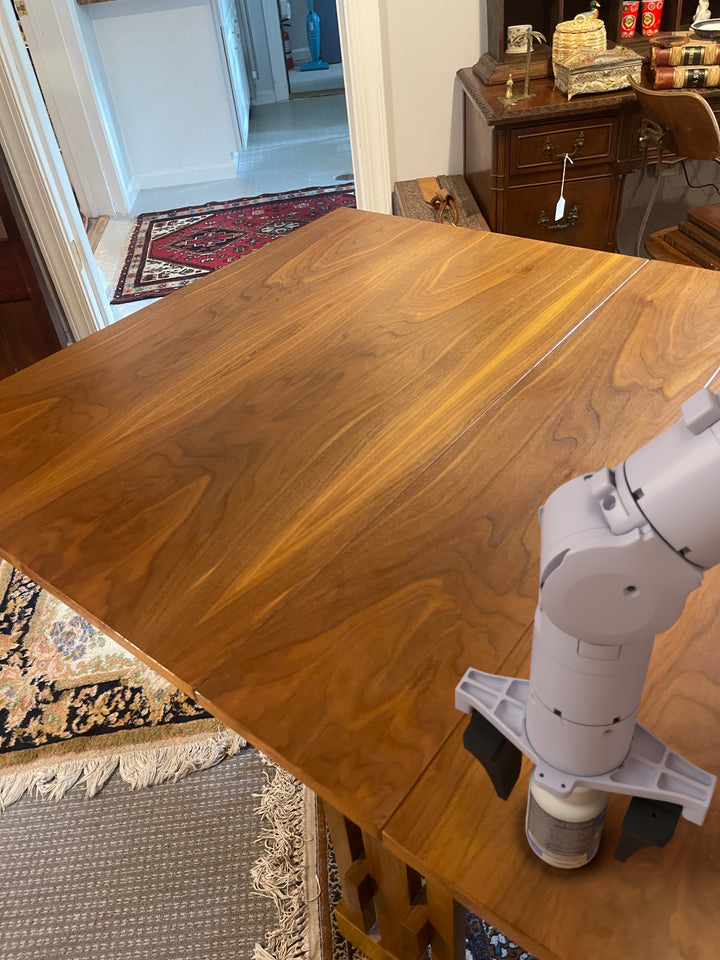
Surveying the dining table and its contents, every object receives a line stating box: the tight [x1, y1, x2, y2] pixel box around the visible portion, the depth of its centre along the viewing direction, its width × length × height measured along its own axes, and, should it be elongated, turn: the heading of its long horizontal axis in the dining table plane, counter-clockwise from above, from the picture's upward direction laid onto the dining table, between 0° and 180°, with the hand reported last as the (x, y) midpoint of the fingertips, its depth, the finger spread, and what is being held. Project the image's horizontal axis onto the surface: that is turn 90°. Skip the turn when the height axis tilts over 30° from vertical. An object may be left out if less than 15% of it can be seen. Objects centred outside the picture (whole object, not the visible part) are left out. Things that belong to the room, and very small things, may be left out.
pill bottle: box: [525, 763, 610, 869], centre depth 46 cm, size 5×5×8 cm
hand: (563, 815), depth 47 cm, fingers open, 7 cm apart
